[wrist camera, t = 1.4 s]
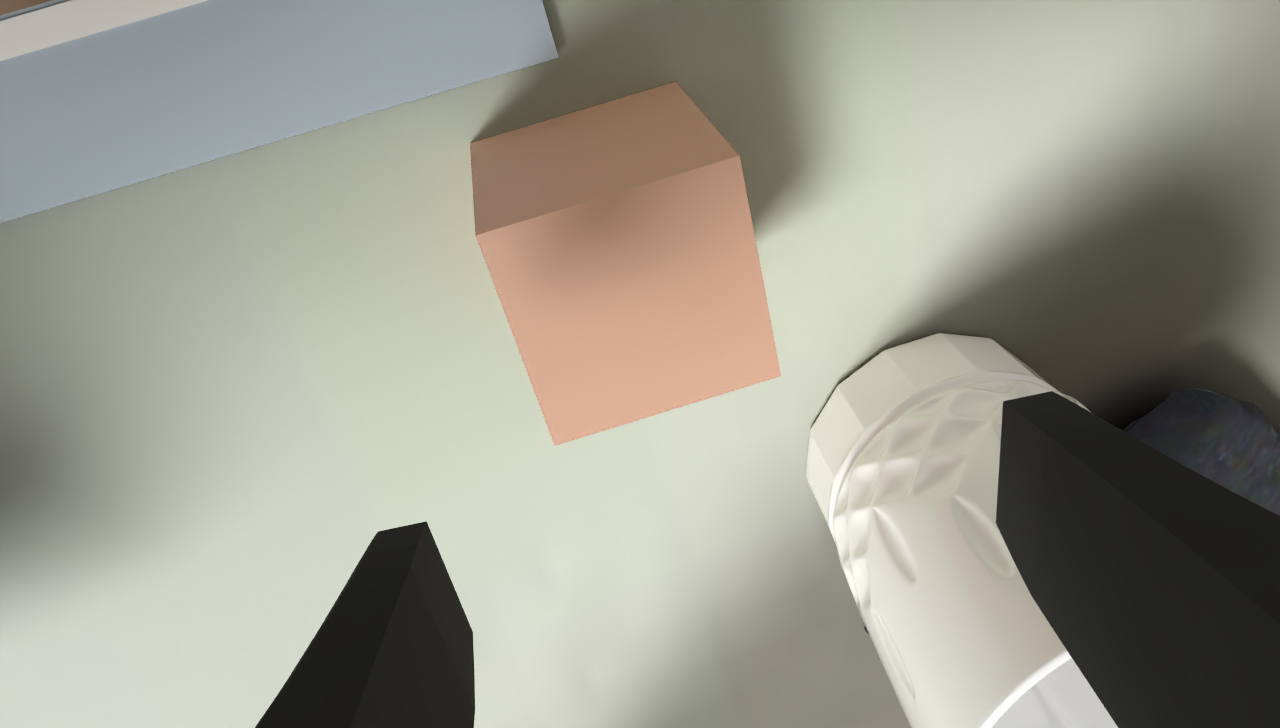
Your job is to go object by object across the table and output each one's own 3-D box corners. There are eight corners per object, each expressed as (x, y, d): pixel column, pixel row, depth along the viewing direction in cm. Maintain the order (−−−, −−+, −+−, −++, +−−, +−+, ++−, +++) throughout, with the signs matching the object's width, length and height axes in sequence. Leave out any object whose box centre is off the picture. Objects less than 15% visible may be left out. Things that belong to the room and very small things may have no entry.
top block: (534, 321, 21) (555, 445, 17) (469, 142, 19) (475, 235, 15) (715, 266, 21) (780, 376, 17) (675, 80, 19) (739, 155, 15)
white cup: (805, 573, 27) (961, 913, 19) (760, 363, 23) (937, 679, 15) (1051, 495, 27) (1317, 797, 19) (1052, 271, 23) (1397, 532, 15)
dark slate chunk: (1218, 272, 25) (1367, 360, 21) (1466, 585, 35) (1598, 685, 31) (819, 615, 29) (878, 743, 25) (1143, 805, 39) (1221, 918, 35)
